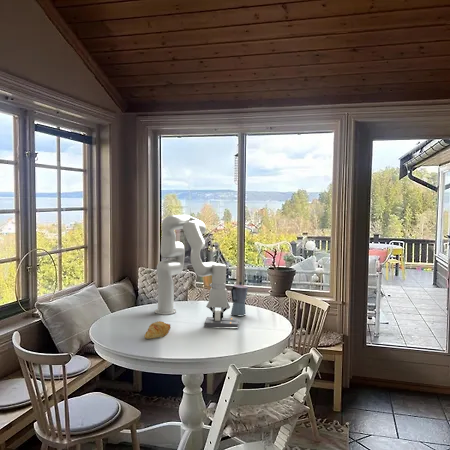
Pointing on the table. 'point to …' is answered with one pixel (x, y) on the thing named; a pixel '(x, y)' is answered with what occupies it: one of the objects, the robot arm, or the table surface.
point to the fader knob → (217, 315)
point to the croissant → (157, 330)
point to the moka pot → (238, 299)
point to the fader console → (221, 322)
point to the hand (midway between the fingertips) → (217, 319)
